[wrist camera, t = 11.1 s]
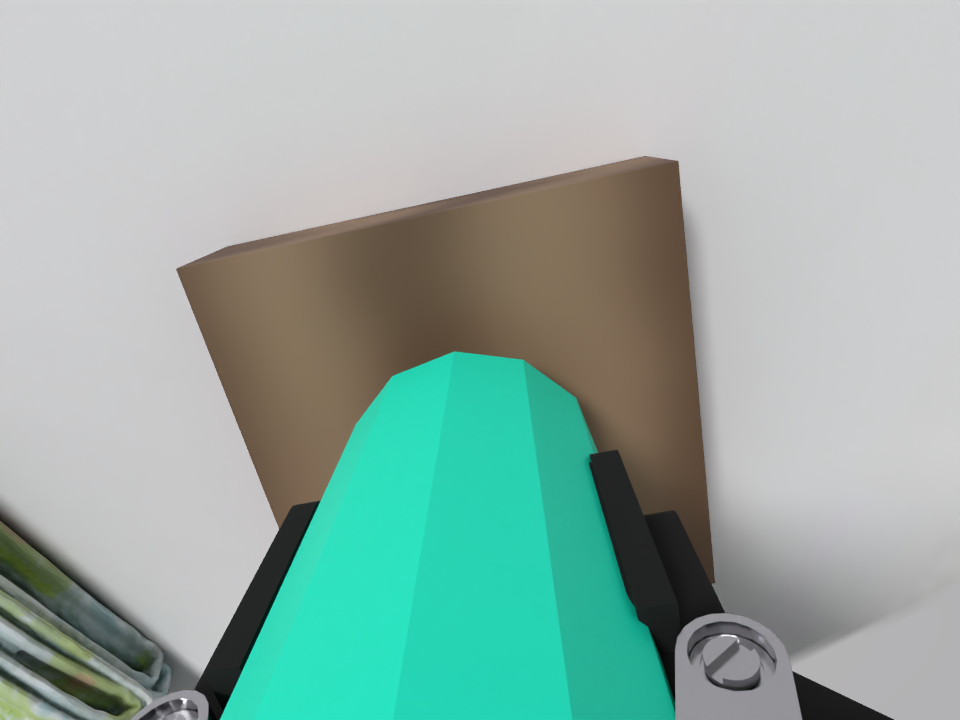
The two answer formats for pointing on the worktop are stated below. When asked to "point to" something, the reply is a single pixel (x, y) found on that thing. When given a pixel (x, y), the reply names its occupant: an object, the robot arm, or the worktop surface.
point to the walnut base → (470, 323)
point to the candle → (458, 568)
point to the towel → (67, 647)
